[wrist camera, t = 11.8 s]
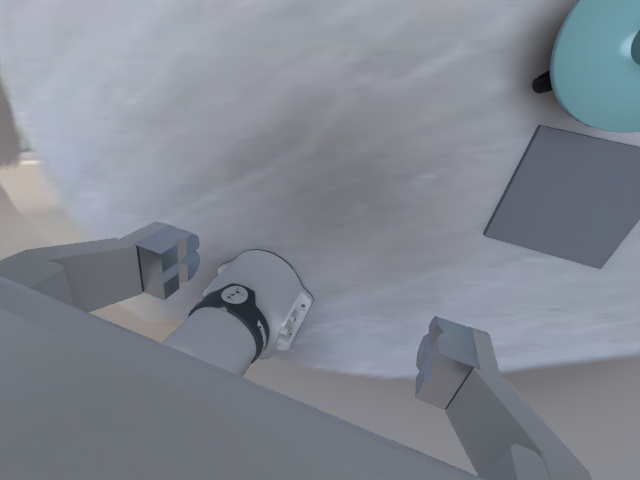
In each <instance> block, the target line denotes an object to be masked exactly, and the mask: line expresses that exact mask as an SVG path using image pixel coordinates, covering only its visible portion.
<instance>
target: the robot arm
mask: <svg viewBox="0 0 640 480" xmlns="http://www.w3.org/2000/svg"><path fill="white" fill-rule="evenodd" d="M198 247H199V237H198V236H197V235H196V234H193V233H190V232H187V231H185V230H182V229H179V228H176V227H174V226H170V225H168V224H165V223H162V222H154V223H151V224H149V225H147V226H145V227H143V228H141V229H139V230H137V231H135V232H133V233H131V234H129V235H127V236H125V237H123V238H121V239H116V238H112V239H105V240H97V241H90V242H82V243H74V244H67V245H59V246H52V247H44V248H37V249H29V250H25V251H22V252H20V253H17V254H15V255H12V256H10V257H7V258H5V259H3V260H0V480H592V478H591V476H590V474H589V471H588V470H587V469H586V468H585V467H584V466H583V465H582V463H581V462H580V461H579V460H578V459H577V458H576V457H575V456H574V454H573V453H572V452H571V451H570V450H569V449H568V448H567V447H566V445H564V443H563V442H562V441H561V440H560V439H559V438H558V436H557V435H556V434H555V433H554V432H553V431H552V430H551V429H550V427H549V426H548V425H547V424H546V423H545V422H544V421H543V420H542V418H541V417H540V416H539V415H538V414H537V413H536V412H535V411H534V409H533V408H532V407H531V406H530V405H529V404H528V403H527V402H526V401H525V399H524V398H523V397H522V396H521V395H520V394H519V393H518V392H517V390H516V389H515V388H514V387H513V386H512V385H511V384H510V382H509V381H508V380H507V379H505V378H502V377H501V375H500V372H499V368H498V364H497V360H496V357H495V353H494V349H493V346H492V342H491V338H490V335H489V334H488V333H487V332H484V331H481V330H478V329H475V328H472V327H467V326H464V325H461V324H458V323H455V322H452V321H449V320H446V319H443V318H440V317H437V316H435V317H434V318H433V319H432V321H431V323H430V325H429V334H427V335H425V336H424V337H423V339H422V341H421V343H420V346H419V350H418V354H417V363H416V366H417V368H418V369H419V373H418V375H417V377H416V398H418V399H420V400H422V401H425V402H427V403H430V404H432V405H435V406H437V407H439V408H442V409H444V410H446V411H445V412H446V414H447V416H448V418H449V420H450V422H451V424H452V426H453V428H454V430H455V432H456V434H457V436H458V438H459V440H460V442H461V443H462V445H463V447H464V449H465V451H466V453H467V455H468V457H469V459H470V461H471V463H472V465H473V467H474V469H475V471H476V472H477V475H478V476H476V475H474V474H472V473H469V472H467V471H464V470H462V469H460V468H457V467H454V466H453V465H450V464H448V463H445V462H443V461H441V460H438V459H435V458H433V457H431V456H429V455H426V454H424V453H421V452H419V451H417V450H414V449H412V448H410V447H407V446H405V445H403V444H400V443H397V442H395V441H393V440H390V439H388V438H386V437H383V436H381V435H379V434H376V433H374V432H372V431H369V430H367V429H364V428H362V427H360V426H357V425H354V424H352V423H350V422H347V421H345V420H343V419H340V418H338V417H336V416H333V415H331V414H329V413H326V412H324V411H321V410H319V409H317V408H314V407H312V406H310V405H307V404H305V403H302V402H300V401H297V400H295V399H293V398H290V397H288V396H286V395H283V394H281V393H279V392H276V391H274V390H271V389H269V388H267V387H264V386H262V385H260V384H257V383H255V382H252V381H250V380H248V379H245V378H243V375H244V374H245V372H246V370H247V369H248V367H249V365H250V364H252V363H253V362H254V361H255V360H257V359H268V358H270V357H271V356H272V355H273V353H274V351H275V350H277V351H285V350H288V349H289V347H290V346H291V344H292V342H293V340H294V338H295V336H296V334H297V332H298V330H299V329H300V327H301V325H302V323H303V321H304V319H305V317H306V315H307V313H308V311H309V309H310V307H311V305H312V303H313V298H312V296H311V295H310V294H309V293H308V292H307V291H306V290H305V289H304V288H303V286H302V285H301V283H300V281H299V279H298V277H297V275H296V273H295V272H294V270H293V269H292V268H291V267H290V266H289V265H288V264H287V263H286V262H285V261H284V260H282V259H281V258H279V257H278V256H276V255H274V254H272V253H269V252H266V251H261V250H250V251H246V252H243V253H241V254H240V255H238V256H237V257H236V258H235V259H234V260H233V261H232V262H229V263H225V264H222V265H221V266H220V267H219V268H218V270H217V272H218V276H217V277H216V278H215V279H214V281H213V282H212V283H211V284H210V285H209V286H208V287H207V289H206V290H205V291H204V292H203V299H201V300H200V301H199V302H198V303H197V304H196V305H195V307H194V308H193V309H192V310H191V312H190V314H189V316H188V318H187V319H186V320H185V321H184V322H183V323H182V324H181V325H180V326H179V327H178V328H177V329H176V330H175V331H174V332H173V333H172V334H171V335H170V336H169V337H168V338H167V339H166V340H165V341H164V342H162V343H159V342H157V341H155V340H152V339H150V338H147V337H145V336H143V335H140V334H138V333H136V332H133V331H131V330H128V329H126V328H123V327H121V326H119V325H116V324H114V323H112V322H109V321H107V320H104V319H102V318H100V317H97V316H95V315H93V314H90V313H88V312H91V311H94V310H97V309H100V308H103V307H105V306H108V305H110V304H114V303H117V302H119V301H122V300H125V299H128V298H131V297H133V296H136V295H139V294H142V293H143V292H144V293H147V294H150V295H153V296H155V297H158V298H161V299H164V300H166V299H167V298H168V297H169V296H170V295H172V294H173V293H174V292H175V291H177V290H178V289H179V285H180V283H183V282H187V281H189V280H190V279H191V278H192V277H193V276H194V275H195V273H196V272H197V270H198V267H199V263H200V257H199V255H198V253H197V252H196V249H197V248H198ZM303 304H304V305H303Z"/></svg>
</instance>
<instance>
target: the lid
mask: <svg viewBox="0 0 640 480" xmlns="http://www.w3.org/2000/svg"><path fill="white" fill-rule="evenodd" d="M550 79H551V85H552V89H553V92H554V95H555V97H556V99H557V101H558V102H559V104H560V105H561V107H562V108H563V109H564V110H565V111H566V112H567V113H568V114H569V115H570V116H571V117H572V118H574V119H576V120H577V121H579V122H581V123H583V124H585V125H587V126H590V127H594V128H598V129H602V130H606V131H612V132H640V0H577V2H576V3H575V4H574V6H573V7H572V9H571V10H570V12H569V13H568V15H567V16H566V18H565V20H564V22H563V24H562V26H561V28H560V30H559V32H558V35H557V37H556V40H555V43H554V47H553V50H552V55H551V62H550Z"/></svg>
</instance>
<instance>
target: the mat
mask: <svg viewBox="0 0 640 480" xmlns="http://www.w3.org/2000/svg"><path fill="white" fill-rule="evenodd" d="M639 220H640V147H635V146H631V145H626V144H621V143H617V142H612V141H608V140H603V139H599V138H594V137H590V136H585V135H581V134H576V133H571V132H567V131H562V130H558V129H553V128H549V127H544V126H540V125H539V126H538V128H537V130H536V132H535V134H534V136H533V137H532V139H531V141H530V143H529V145H528V147H527V149H526V151H525V153H524V155H523V157H522V159H521V161H520V163H519V165H518V167H517V169H516V171H515V173H514V175H513V177H512V179H511V180H510V182H509V184H508V186H507V188H506V190H505V192H504V194H503V196H502V198H501V200H500V202H499V204H498V206H497V208H496V210H495V212H494V214H493V216H492V218H491V220H490V221H489V223H488V225H487V227H486V229H485V231H484V233H483V234H484V236H486V237H490V238H493V239H497V240H500V241H504V242H507V243H511V244H514V245H518V246H521V247H525V248H528V249H532V250H535V251H539V252H542V253H546V254H549V255H553V256H556V257H560V258H563V259H567V260H570V261H574V262H577V263H580V264H584V265H587V266H591V267H594V268H598V269H601V268H602V267H603V266H604V265H605V263H606V262H607V261H608V259H609V258H610V257H611V256H612V254H613V253H614V252H615V250H616V249H617V248H618V247H619V245H620V244H621V243H622V241H623V240H624V239H625V238H626V236H627V235H628V234H629V232H630V231H631V230H632V229H633V227H634V226H635V225H636V224H637V222H638V221H639Z"/></svg>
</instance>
